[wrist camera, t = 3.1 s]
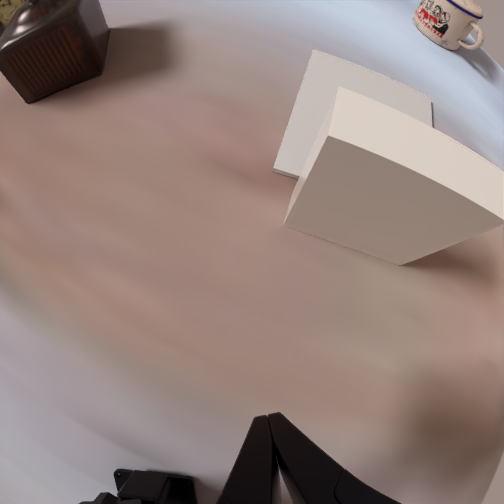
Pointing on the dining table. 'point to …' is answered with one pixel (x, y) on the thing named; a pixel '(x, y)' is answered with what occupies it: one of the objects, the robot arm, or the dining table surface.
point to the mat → (320, 99)
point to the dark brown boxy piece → (53, 46)
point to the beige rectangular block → (392, 184)
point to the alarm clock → (8, 12)
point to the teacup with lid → (449, 22)
